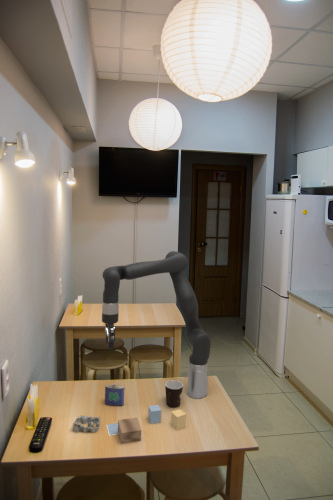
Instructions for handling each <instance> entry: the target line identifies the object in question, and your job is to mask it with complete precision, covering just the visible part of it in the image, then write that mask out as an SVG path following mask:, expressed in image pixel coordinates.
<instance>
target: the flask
mask: <svg viewBox="0 0 333 500" xmlns="http://www.w3.org/2000/svg"><path fill="white" fill-rule="evenodd" d="M104 387H105V388H104V405H105V406H109V407H123V406H124V405H125V386H124V385H117V382H113V384H107V385H105V386H104Z"/></svg>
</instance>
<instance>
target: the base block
mask: <svg viewBox="0 0 333 500" xmlns="http://www.w3.org/2000/svg"><path fill="white" fill-rule="evenodd" d="M117 423H118V434H117V435H118V437H119V441H120V444H121V445H122V444H129V443H135V442H140V441H142V428H141V425H140V423H139V419H138V417H130V418H124V419H122V418H121V419H117Z"/></svg>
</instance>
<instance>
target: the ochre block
mask: <svg viewBox="0 0 333 500" xmlns="http://www.w3.org/2000/svg"><path fill="white" fill-rule="evenodd" d="M170 414H171V417H170V425H171V426H172V427H173V428H174V429H175V430H176V431H178V430H181V429H185V428H186V418H187V414H186V412H184V411H183V410H182V409H180V408H179V409H176V410H173V411H171V413H170Z"/></svg>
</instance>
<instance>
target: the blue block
mask: <svg viewBox="0 0 333 500" xmlns="http://www.w3.org/2000/svg"><path fill="white" fill-rule="evenodd" d="M147 419H148V421H149V423H150V425H153V424H160V423H162V421H161V420H162V409H161V407H160V405H159V404H153V405H148V414H147Z"/></svg>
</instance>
